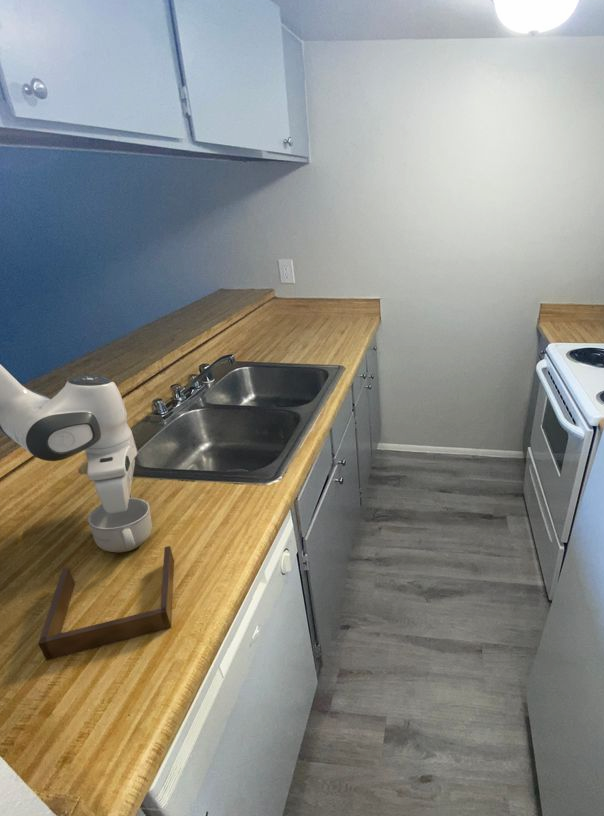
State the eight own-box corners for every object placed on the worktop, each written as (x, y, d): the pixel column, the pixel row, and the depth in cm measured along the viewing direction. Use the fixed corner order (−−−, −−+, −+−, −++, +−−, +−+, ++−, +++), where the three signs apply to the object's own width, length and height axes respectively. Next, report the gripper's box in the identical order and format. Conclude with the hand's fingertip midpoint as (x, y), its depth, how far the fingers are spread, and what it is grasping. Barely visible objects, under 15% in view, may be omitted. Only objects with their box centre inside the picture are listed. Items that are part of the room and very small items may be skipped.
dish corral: (46, 660, 74) (38, 643, 73) (68, 583, 88) (62, 568, 86) (171, 627, 81) (166, 611, 79) (174, 561, 95) (170, 545, 93)
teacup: (99, 533, 101) (89, 503, 97) (155, 520, 105) (148, 490, 102) (95, 577, 90) (84, 545, 86) (158, 560, 95) (150, 529, 91)
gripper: (101, 430, 104) (117, 481, 111) (85, 479, 87) (105, 536, 94) (133, 425, 106) (147, 476, 113) (123, 472, 90) (140, 529, 96)
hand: (128, 504), depth 103 cm, fingers closed
